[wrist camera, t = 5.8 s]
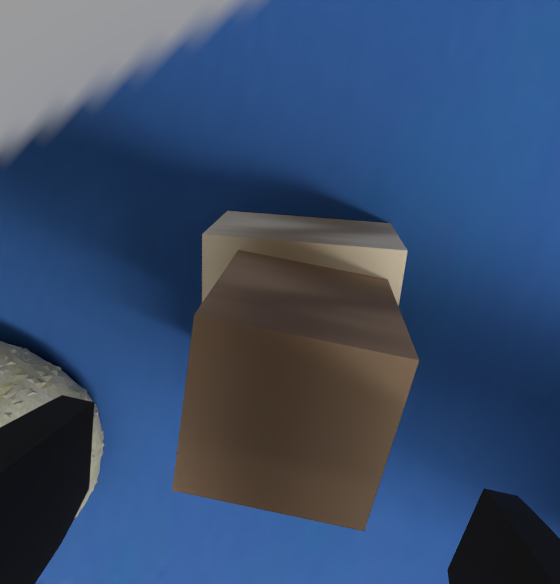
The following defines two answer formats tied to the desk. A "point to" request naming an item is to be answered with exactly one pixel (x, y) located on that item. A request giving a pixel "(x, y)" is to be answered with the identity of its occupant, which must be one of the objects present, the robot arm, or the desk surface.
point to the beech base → (305, 245)
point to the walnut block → (294, 390)
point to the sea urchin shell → (41, 394)
